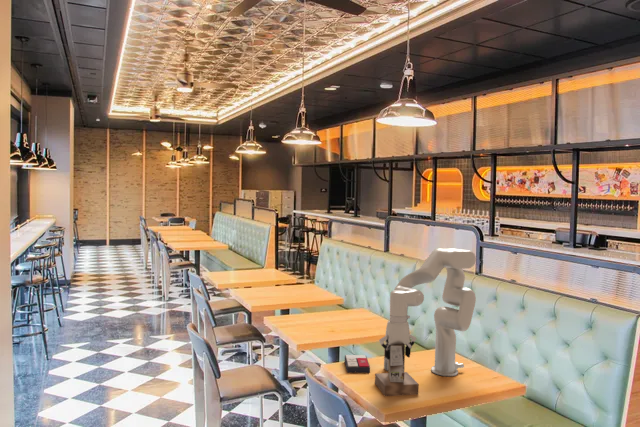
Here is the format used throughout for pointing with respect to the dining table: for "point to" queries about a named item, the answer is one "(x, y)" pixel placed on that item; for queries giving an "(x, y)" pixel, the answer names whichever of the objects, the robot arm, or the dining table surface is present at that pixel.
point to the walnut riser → (396, 385)
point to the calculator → (357, 364)
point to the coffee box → (396, 363)
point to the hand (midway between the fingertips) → (397, 357)
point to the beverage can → (385, 362)
